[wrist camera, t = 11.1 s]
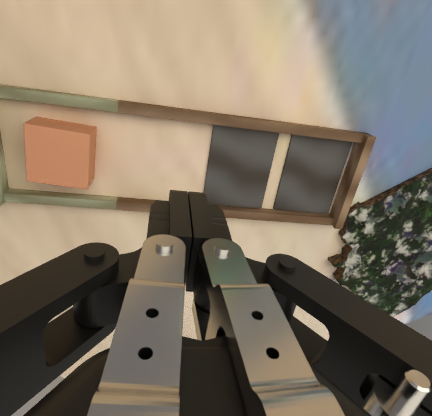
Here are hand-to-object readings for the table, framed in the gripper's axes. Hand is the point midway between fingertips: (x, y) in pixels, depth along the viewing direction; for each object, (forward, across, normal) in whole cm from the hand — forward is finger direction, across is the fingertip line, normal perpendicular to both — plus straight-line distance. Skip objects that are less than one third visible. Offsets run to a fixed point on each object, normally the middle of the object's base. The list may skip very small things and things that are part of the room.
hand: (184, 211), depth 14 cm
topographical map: (+31, -44, +17) cm, 56 cm away
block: (+30, +13, +9) cm, 34 cm away
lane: (+30, -2, +9) cm, 31 cm away
